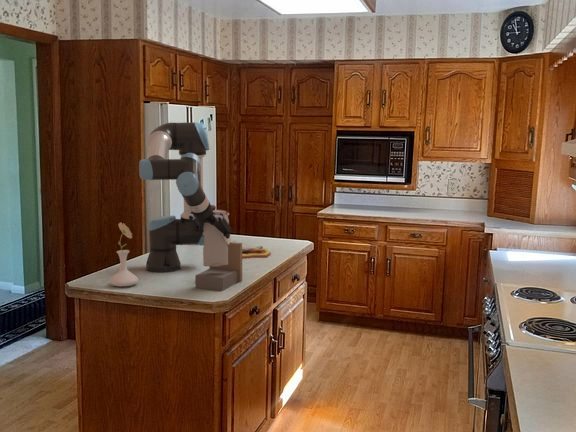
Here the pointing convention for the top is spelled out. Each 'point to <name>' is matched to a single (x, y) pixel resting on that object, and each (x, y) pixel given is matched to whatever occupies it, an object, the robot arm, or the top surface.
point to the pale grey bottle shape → (214, 244)
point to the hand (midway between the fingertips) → (219, 241)
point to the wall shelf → (223, 271)
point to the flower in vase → (123, 263)
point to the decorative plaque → (254, 251)
